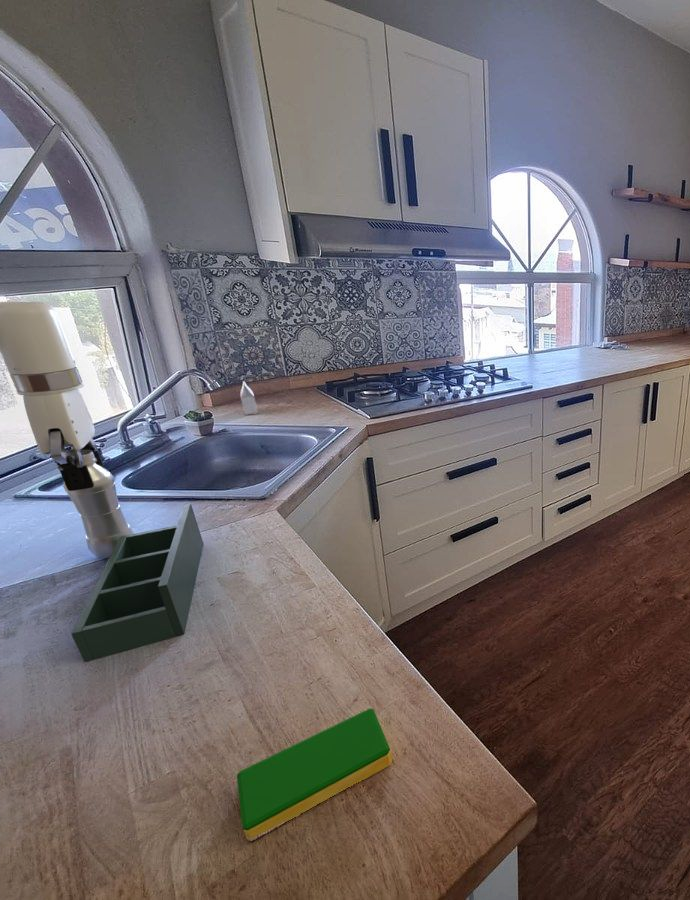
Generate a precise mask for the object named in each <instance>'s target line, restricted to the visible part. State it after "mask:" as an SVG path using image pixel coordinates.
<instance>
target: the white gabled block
mask: <svg viewBox="0 0 690 900" xmlns="http://www.w3.org/2000/svg"><path fill="white" fill-rule="evenodd" d="M239 395H240V396H239V397H240V400H241V404H242V408H243V412H244V416H249V415H250V416H251V415H257V414H259V411H258V406H257V401H256V399H255V395H254V391H253V390H252V389H251V388H250V387H249V386H248V385H247V383H246V381H245V380H244V381H243V380H242V386H241V389H240V393H239Z"/></svg>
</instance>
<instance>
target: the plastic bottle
mask: <svg viewBox="0 0 690 900" xmlns="http://www.w3.org/2000/svg"><path fill="white" fill-rule="evenodd" d="M80 451H81V456H82V461H83V465H87V467H88V470H89V472H90V475H91V478H92V480H93V483H94V486H93V487H92V488H88V489H81V490H75V491H69V490H68V489H67V487H66V485H65V482H64V481H63V486H62V487H63V489H64V491H65V492H66V494H67V496H68V497H69V500H71V502H72V503H73V505H74V507H75V509H76V511H77V513H78V514H79V517H80V519H81V522H82V525H83V528H84V532H85V542H86V546H87V549H88V550H89V551H90V553H91V554H92V555H93V556H94V557H96V558H100V559H109V558H110V556H111V554H112V552H113V550H114V548H115V546H116V544H117V542H118V540H119V538H120V536H125V535H131V534H136V533H135V531H134V530H133V528H132V527H131V526H130V524H129V523H128V521H127V518H126V516H125V515H124V513H123V511H122V508H121V505H120V502H119V499H118V494H117V489H116V482H115V478H114V475H113V474H112V472H110V470H108V469H106V467H105V468H103V467H101V466H99V465H97V464H96V463H95V462H96V461H97V460H96V458H95V457H94V454H93V452H92V451H91V450H80ZM67 456H71V457H73V458H74V459H75V457H74V453H72V454H67Z"/></svg>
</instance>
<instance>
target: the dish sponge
mask: <svg viewBox="0 0 690 900" xmlns="http://www.w3.org/2000/svg"><path fill="white" fill-rule="evenodd" d="M392 762H393V758H392V753H391V748H390V745H389V743H388V741H387V737H386V735H385V733H384V731H383V728H382V725H381V723H380V721H379V719H378V716H377V714H376V712H375V709H374V708H367V709H366V710H363V711H362V712H359V713H357V714H355V715H353V716H351V717H349V718H347V719H345V720H342V721H340V722H338V723H337V724H335V725H332V726H331V727H330V726H329V727H328V728H326V729H324V730H322V731H319V732H317V733H316V734H314V735H311V736H309V737H308V738H305V739H303V740H301V741H300V742H298V743H295V744H293V745H291V746H288V747H287V748H285V749H282V750H280V751H278V752H276V753H274V754H272V755H270V756H268V757H266V758H264V759H262V760H260V761H258V762H256V763H253V764H251V765H250V766H247V767H245V768H243V769H240V771H238V772H237V774H236V783H237V791H238V800H239V809H240V810H239V811H240V819H241V827H242V830H243V833H244V835H245V838H246V839H247V837H248V838H253V837H255V836H257V835H259V834H261V833H263V832H265V831H267V830H269V829H271V828H273V827H275V826H277V825H278V824H281V823H282V822H285V821H287V820H289V819H291V818H293V817H295V816H297V815H299V814H301V813H303V812H305V811H306V810H308V809H310V808H312V807H314V806H316V805H317V804H319V803H321V802H323V801H325V800H327V799H328V798H330V797H332V796H334V795H336V794H337V793H339V792H341V791H343V790H345V789H346V788H348V787H350V788H352V787H353V785H354V784H355V785H357V784H359V783H361V782H362V780H363V781H364V780H366V779H368V778H370V777H371V776H374V775H376V774H377V773H378V772H381V771H383V770H384V769H386V768H388V767H389V766H391V764H392ZM358 782H359V783H358ZM356 783H357V784H356ZM355 785H354V786H355ZM351 786H352V787H351ZM348 789H349V788H348ZM346 790H347V789H346ZM346 790H345V791H346ZM343 792H344V791H343ZM341 793H342V792H341ZM339 794H340V793H339ZM337 795H338V794H337ZM337 795H336V796H337ZM334 797H335V796H334ZM332 798H333V797H332ZM330 799H331V798H330ZM328 800H329V799H328ZM328 800H327V801H328ZM325 802H326V801H325ZM323 803H324V802H323ZM321 804H322V803H321ZM316 807H317V806H316ZM314 808H315V807H314ZM312 809H313V808H312ZM305 813H306V812H305ZM303 814H304V813H303Z"/></svg>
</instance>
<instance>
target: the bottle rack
mask: <svg viewBox="0 0 690 900" xmlns="http://www.w3.org/2000/svg"><path fill="white" fill-rule="evenodd" d="M203 548H204V540H203V536H202V535H201V531H200V528H199V524H198V521H197V519H196V515H195V512H194V509H193V505H192V503H191V502H188V503H184V504H183V507H182V509H181V512H180V516H179V519H178V522H177V524H176V525H172V526H167V527H163V528H162V527H161V528H158V529H152V530H145V531H142V532H137V533H135V534H131V535H125V536H120V538H119V540H118V542H117V544H116V546H115V548H114V550H113V552H112V554H111V556H110V557H109V558H108V559H107V562H106V563H105V566H104V568H103V569H102V572H101V574H100V576H99V578H98V580H97V582H96V584H95V585H94V587H93V589H92V592H91V594H90V596H89V598H88V600H87V601H86V604H85V606H84V607H83V610H82V611H81V613H80V616H79V618H78V620H77V621H76V624H75V625H74V628H73V630H72V632H71V636H72V639H73V641H74V643H75V645H76V647H77V649H78V651H79V653H80V656H81V658H82V661H83V662H84V663H85V662H86V663H87V662H90V661H93V660H98V659H101V658H104V657H108V656H111V655H115V654H119V653H122V652H125V651H128V650H133V649H136V648H139V647H143V646H146V645H150V644H154V643H158V642H161V641H165V640H169V639H172V638H176V637H179V636H183V635H185V633H186V628H187V624H188V618H189V614H190V609H191V604H192V599H193V595H194V590H195V585H196V581H197V576H198V573H199V572H198V571H199V567H200V563H201V558H202V554H203Z"/></svg>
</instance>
